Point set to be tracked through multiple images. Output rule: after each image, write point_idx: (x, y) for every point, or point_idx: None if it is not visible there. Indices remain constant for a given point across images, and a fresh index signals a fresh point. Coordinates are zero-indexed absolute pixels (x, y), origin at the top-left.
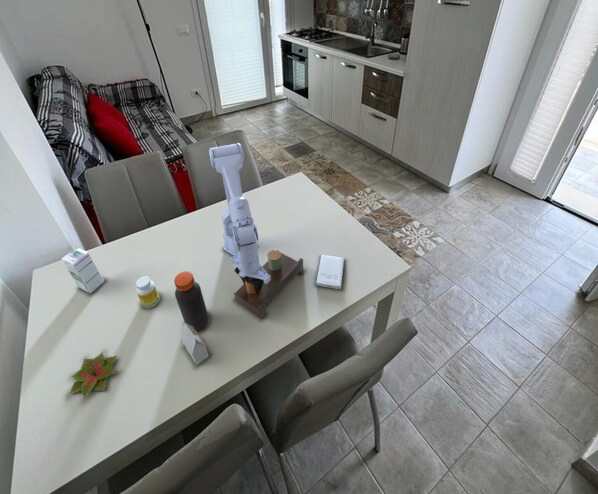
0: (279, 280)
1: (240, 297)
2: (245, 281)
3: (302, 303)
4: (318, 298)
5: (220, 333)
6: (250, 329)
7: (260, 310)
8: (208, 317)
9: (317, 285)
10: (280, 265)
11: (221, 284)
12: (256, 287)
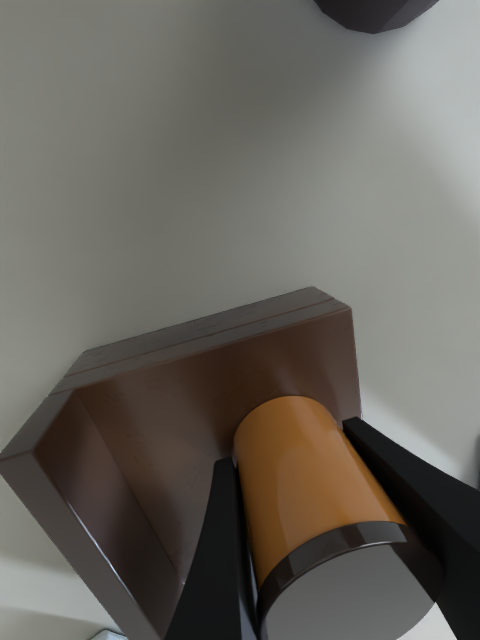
0: None
1: (282, 329)
2: (359, 529)
3: (49, 555)
4: (34, 613)
5: (143, 22)
6: (42, 251)
7: (41, 407)
8: (337, 7)
9: (103, 632)
10: None
11: (468, 272)
12: (185, 585)
